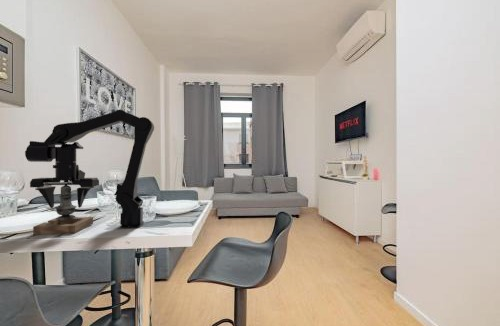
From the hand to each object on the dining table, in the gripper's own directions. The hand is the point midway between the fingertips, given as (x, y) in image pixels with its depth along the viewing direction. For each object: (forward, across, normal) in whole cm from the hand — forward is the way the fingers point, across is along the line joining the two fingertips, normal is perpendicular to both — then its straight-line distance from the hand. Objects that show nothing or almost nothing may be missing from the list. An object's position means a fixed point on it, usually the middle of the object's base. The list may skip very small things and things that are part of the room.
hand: (66, 207), depth 84 cm
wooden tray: (+7, 0, 0) cm, 7 cm away
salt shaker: (+4, 0, 0) cm, 4 cm away
